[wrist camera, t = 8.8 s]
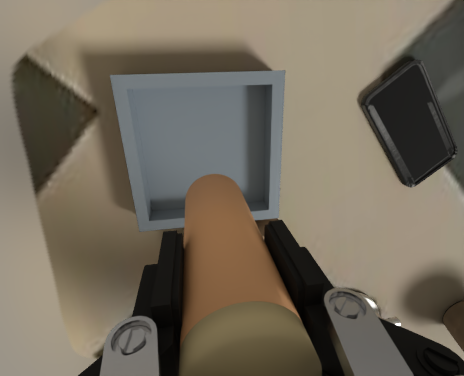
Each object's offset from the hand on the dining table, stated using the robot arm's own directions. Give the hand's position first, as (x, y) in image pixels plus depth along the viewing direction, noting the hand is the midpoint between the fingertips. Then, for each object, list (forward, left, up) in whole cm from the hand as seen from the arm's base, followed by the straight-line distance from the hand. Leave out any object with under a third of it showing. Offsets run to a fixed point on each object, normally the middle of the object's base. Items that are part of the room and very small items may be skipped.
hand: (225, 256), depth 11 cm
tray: (0, 0, -20) cm, 20 cm away
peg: (0, 0, -6) cm, 6 cm away
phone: (-26, -1, -21) cm, 34 cm away
